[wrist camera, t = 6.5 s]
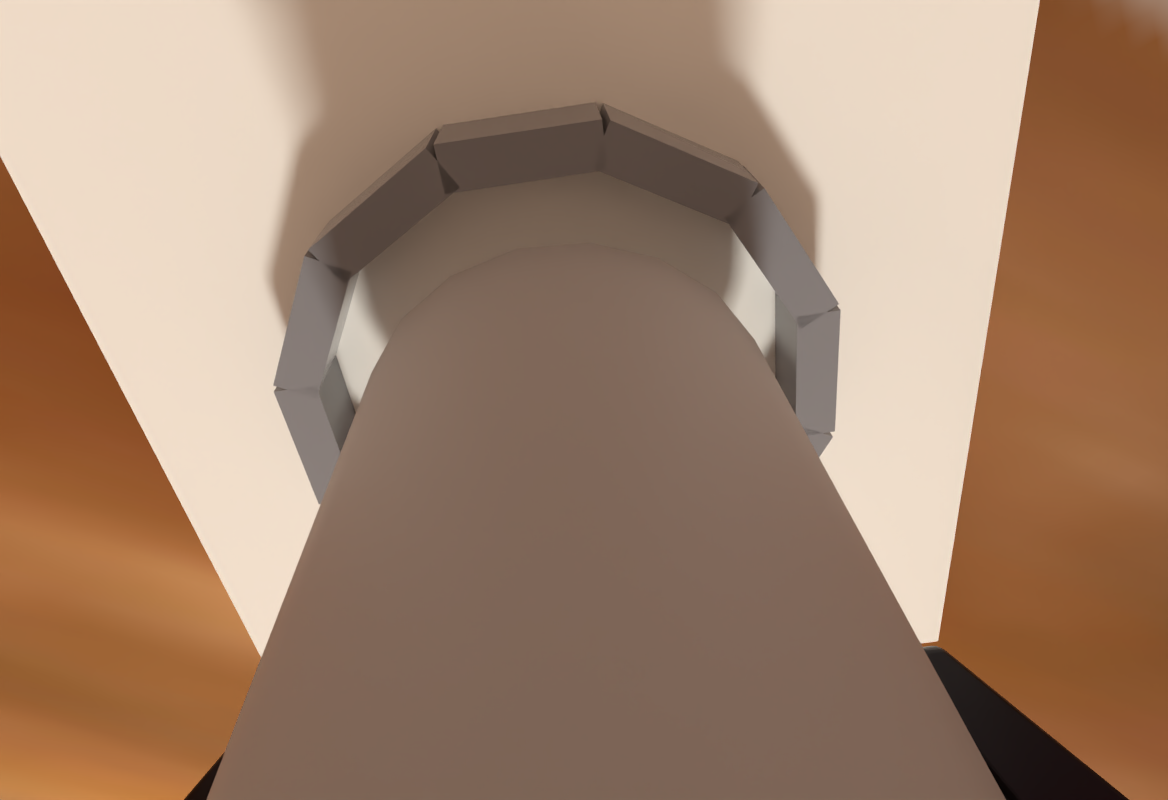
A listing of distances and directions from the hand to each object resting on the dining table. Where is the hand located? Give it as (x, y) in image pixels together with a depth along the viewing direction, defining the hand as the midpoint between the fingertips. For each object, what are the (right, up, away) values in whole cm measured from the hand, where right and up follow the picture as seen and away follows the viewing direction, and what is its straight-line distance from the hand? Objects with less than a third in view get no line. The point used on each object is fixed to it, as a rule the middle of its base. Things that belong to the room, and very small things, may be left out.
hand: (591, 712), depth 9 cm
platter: (-1, +5, +8) cm, 9 cm away
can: (0, +4, +6) cm, 7 cm away
